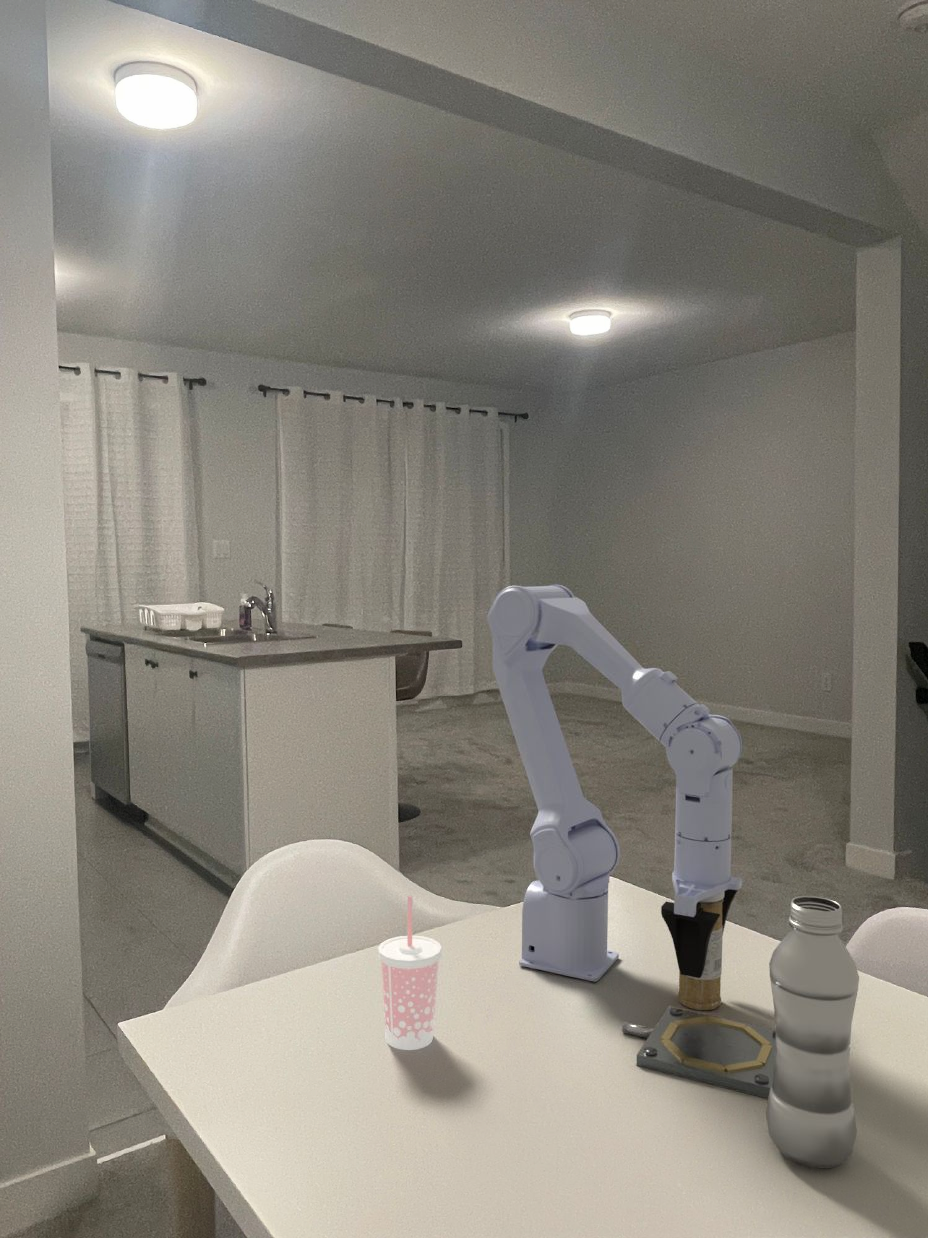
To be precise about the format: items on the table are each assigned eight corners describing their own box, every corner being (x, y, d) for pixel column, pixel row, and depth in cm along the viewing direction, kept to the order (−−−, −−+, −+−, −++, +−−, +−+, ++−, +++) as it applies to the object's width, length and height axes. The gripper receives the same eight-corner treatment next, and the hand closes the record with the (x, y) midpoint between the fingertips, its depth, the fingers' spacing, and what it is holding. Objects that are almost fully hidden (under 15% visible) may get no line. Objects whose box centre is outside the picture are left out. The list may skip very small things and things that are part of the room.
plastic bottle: (847, 1192, 71) (855, 926, 70) (754, 1161, 75) (761, 908, 73) (862, 1147, 76) (870, 900, 75) (775, 1120, 80) (782, 884, 79)
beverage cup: (454, 1037, 94) (455, 896, 93) (408, 1061, 89) (409, 913, 88) (410, 1017, 98) (410, 881, 97) (364, 1038, 93) (364, 896, 92)
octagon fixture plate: (605, 1057, 90) (605, 1045, 90) (640, 1009, 100) (640, 998, 100) (771, 1099, 83) (771, 1086, 83) (791, 1043, 93) (791, 1031, 93)
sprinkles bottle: (694, 989, 105) (697, 867, 104) (730, 1004, 101) (733, 878, 100) (668, 1001, 102) (670, 876, 101) (703, 1017, 98) (706, 887, 97)
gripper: (726, 858, 92) (723, 997, 93) (755, 822, 105) (752, 944, 106) (654, 848, 95) (651, 981, 96) (691, 814, 108) (688, 932, 109)
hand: (700, 961), depth 101 cm, fingers open, 7 cm apart
